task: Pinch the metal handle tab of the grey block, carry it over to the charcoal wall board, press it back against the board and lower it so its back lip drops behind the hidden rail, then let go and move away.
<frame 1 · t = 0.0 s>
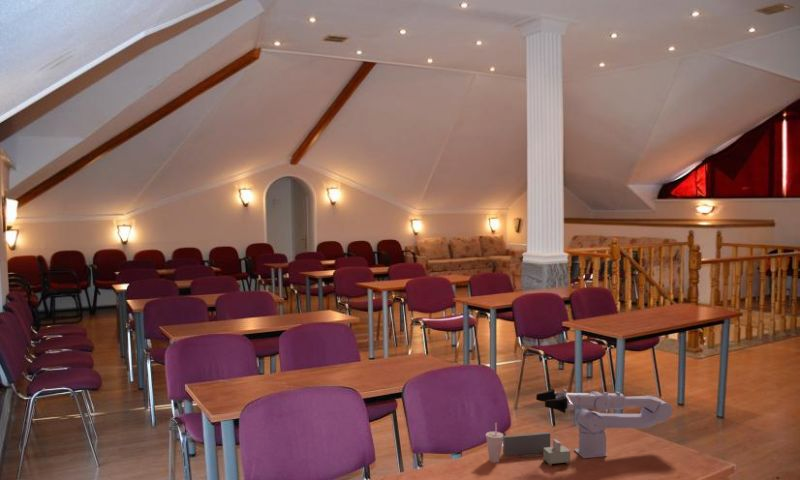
hand: (540, 400, 247), 22 cm above the table, tool horizontal, fingers open, 7 cm apart
smoothie: (494, 460, 248), on the table
wall board: (526, 453, 254), on the table
grey block: (556, 462, 245), on the table
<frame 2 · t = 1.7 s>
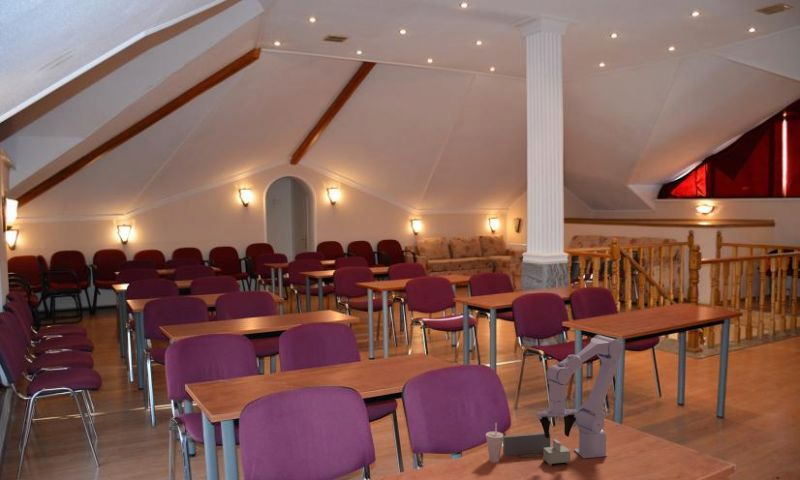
hand: (556, 436, 244), 10 cm above the table, tool pointing down, fingers open, 7 cm apart
nothing on the table moved.
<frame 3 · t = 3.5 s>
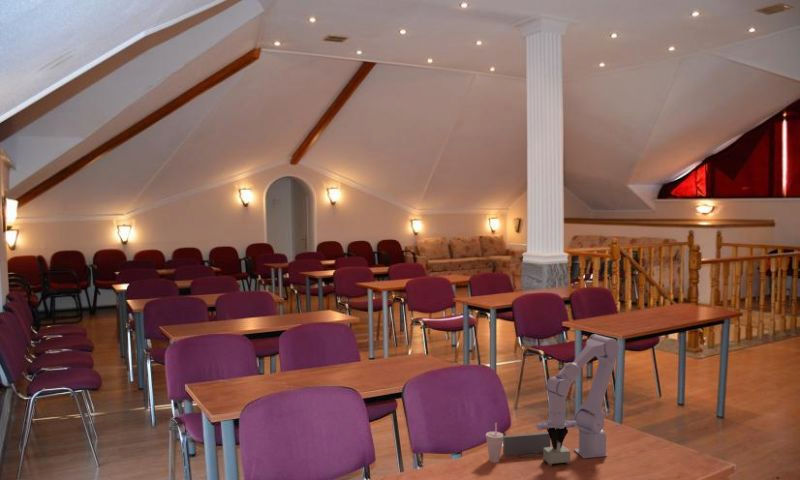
hand: (556, 447, 245), 6 cm above the table, tool pointing down, fingers closed on grey block
grey block: (556, 462, 245), on the table, touching gripper
everything else where it was.
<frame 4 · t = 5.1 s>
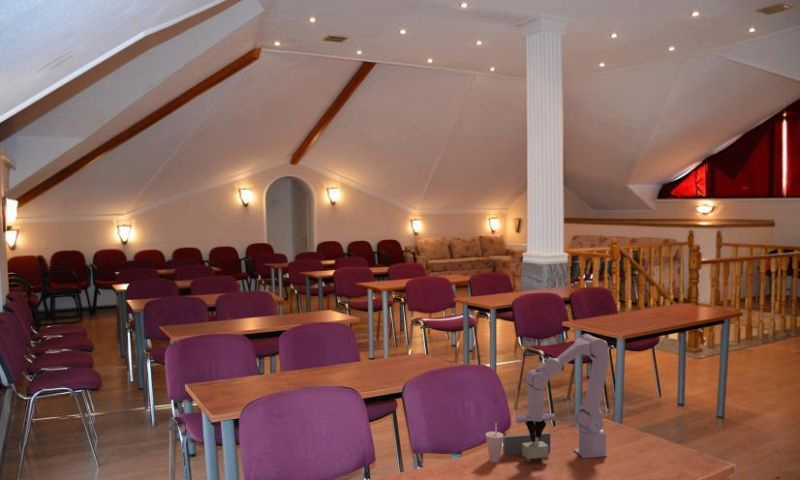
hand: (535, 440, 246), 8 cm above the table, tool pointing down, fingers closed on grey block
grey block: (535, 458, 247), point 1 cm above the table, touching gripper
everything else where it was.
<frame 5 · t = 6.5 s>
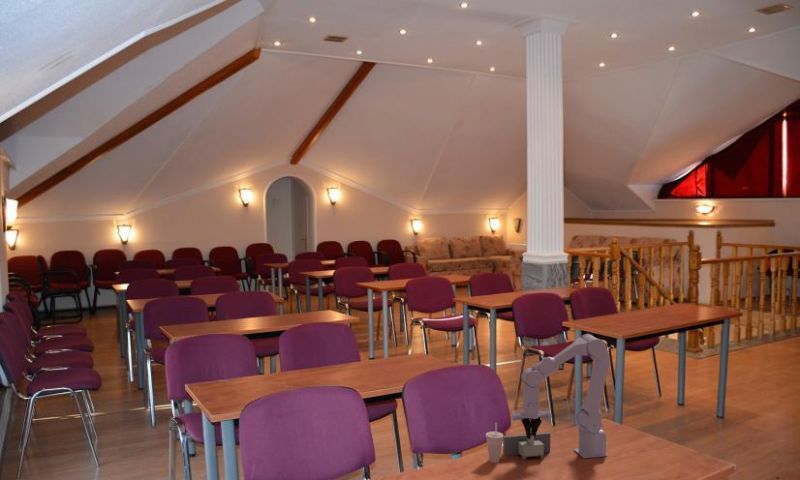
hand: (530, 437, 250), 7 cm above the table, tool pointing down, fingers closed on grey block
grey block: (530, 456, 251), on the table, touching gripper
everything else where it was.
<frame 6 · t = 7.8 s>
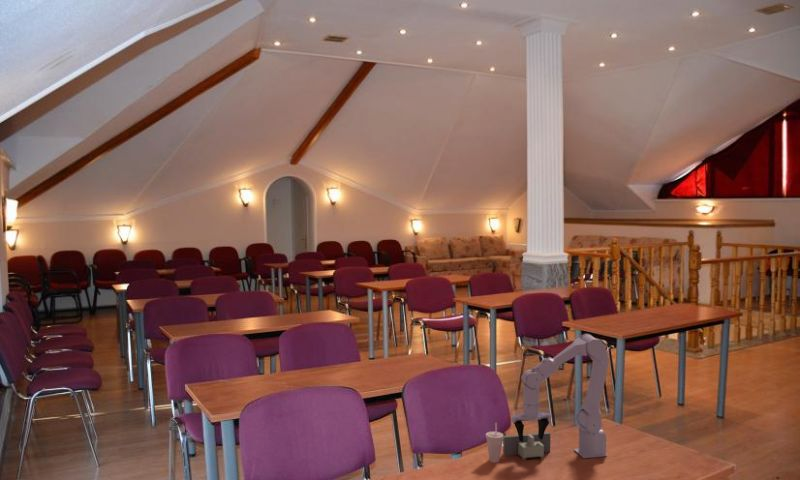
hand: (530, 439, 250), 7 cm above the table, tool pointing down, fingers open, 7 cm apart
grey block: (530, 457, 251), on the table
everything else where it was.
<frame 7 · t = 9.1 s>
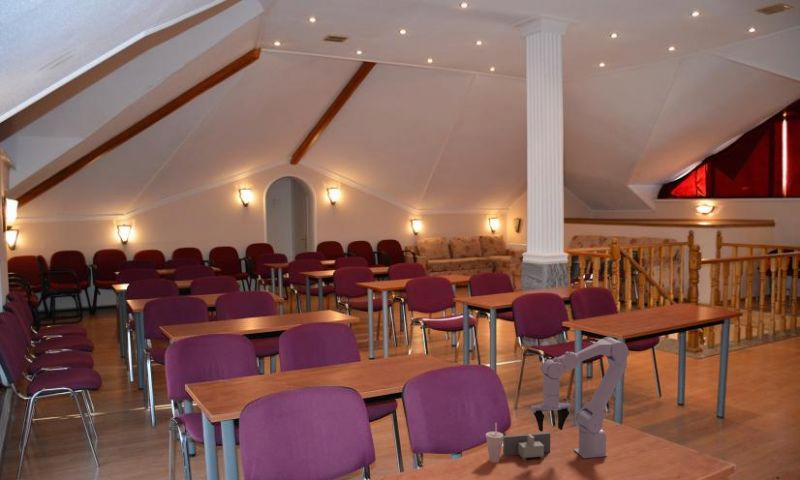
hand: (550, 429, 249), 10 cm above the table, tool pointing down, fingers open, 7 cm apart
nothing on the table moved.
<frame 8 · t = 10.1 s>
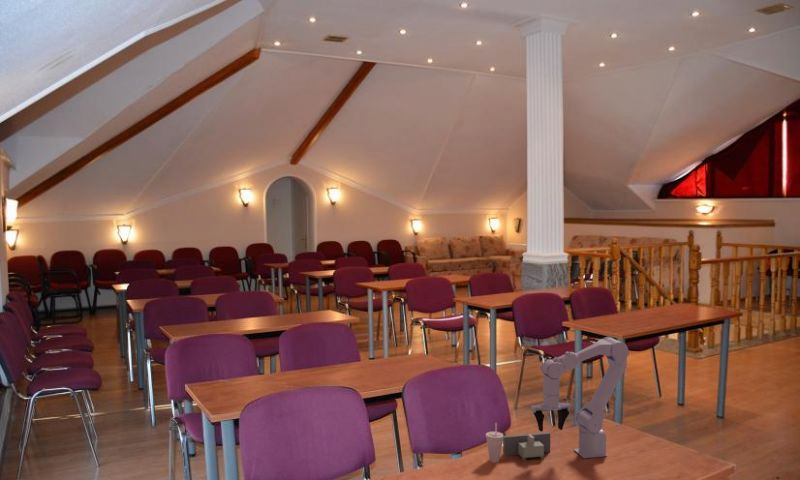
hand: (550, 429, 249), 10 cm above the table, tool pointing down, fingers open, 7 cm apart
nothing on the table moved.
at the end: grey block 0.0 cm from the target spot, on the table; grey block tilted 0°; the gripper is holding nothing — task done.
